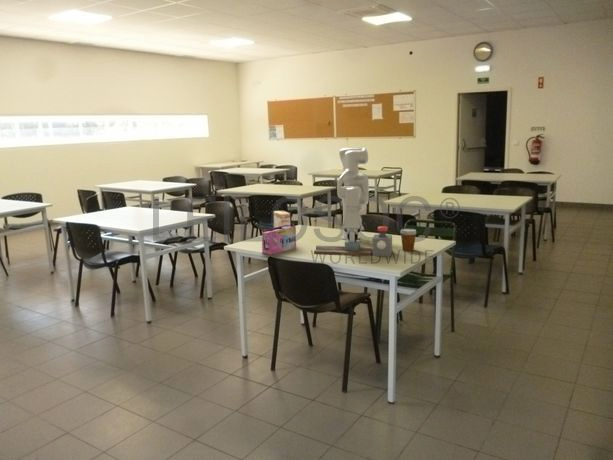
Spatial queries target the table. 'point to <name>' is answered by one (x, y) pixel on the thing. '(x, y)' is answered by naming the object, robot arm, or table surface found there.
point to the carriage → (352, 243)
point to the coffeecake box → (281, 218)
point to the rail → (342, 250)
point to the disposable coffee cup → (408, 239)
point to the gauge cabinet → (382, 245)
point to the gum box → (278, 239)
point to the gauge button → (382, 231)
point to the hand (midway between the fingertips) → (352, 240)
